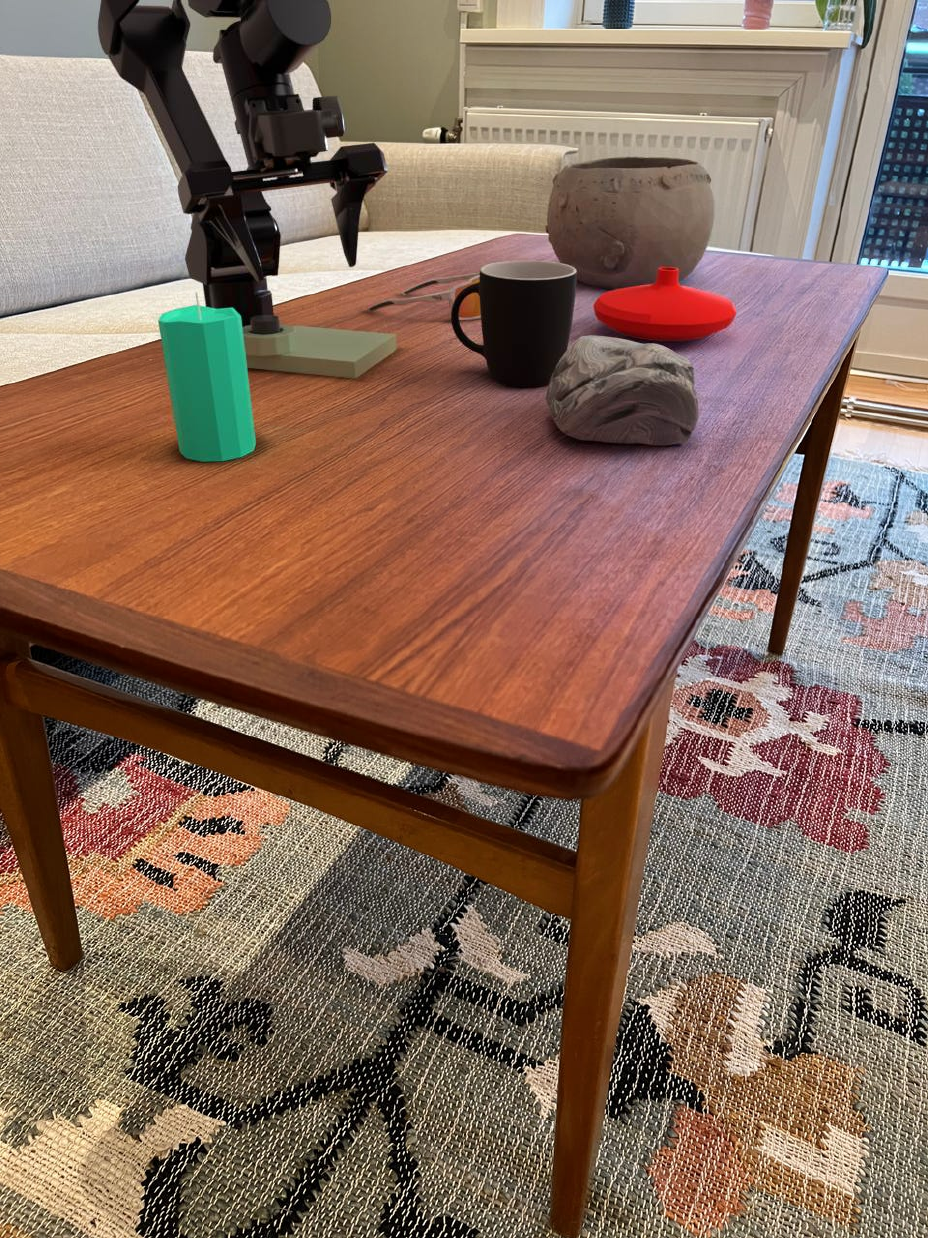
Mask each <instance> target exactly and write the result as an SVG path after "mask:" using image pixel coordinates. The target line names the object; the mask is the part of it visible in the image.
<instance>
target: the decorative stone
mask: <svg viewBox="0 0 928 1238" xmlns="http://www.w3.org/2000/svg"><path fill="white" fill-rule="evenodd" d="M694 369H695V368H694V366H693V364H692V362H691V361H689V359H687V358H686V357H684V356H682V355H680V354H678V353H676V352H675V351H673V350H672V349H670V348H668V347H666V346H664V345H661V344H659V343H640V342H638V341H637V342H636V341H633V340H629V339H624V338H618V337H612V336H606V335H605V336H604V335H591V334H589V335H582V336H580V337H579V338H577V339H576V340H575V341H574V342H573V343H572V344H571V345H570V346H568V348H567V351H566V352H565V353H564V355H563V356H562V357H561V359H560V360H559V362H558V364H557V366H556V368H555V370H554V372H553V374H552V377H551V380H550V383H549V384H548V385H547V392H546V395H545V401H546V404H547V406H548V410H549V413H550V416H551V419H552V420H553V421H554V423H555V425H556V426H557V428H558V429H559V431H561V432H562V433H563V434H565V435H566V436H569V437H572V438H573V439H576V440H579V441H588V442H589V441H593V442H600V443H605V444H606V443H607V444H608V443H610V444H630V445H634V444H643V445H648V446H670V445H677V444H679V445H683V444H685V443H687V442H689V439H690V438H691V435H692V433H693V432H694V431H695V430H696V426H697V424H698V421H699V411H700V410H699V403H698V398H697V394H696V390H695V371H694Z"/></svg>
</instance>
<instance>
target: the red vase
mask: <svg viewBox="0 0 928 1238" xmlns="http://www.w3.org/2000/svg"><path fill="white" fill-rule="evenodd" d="M678 273H679V269H678V268H674V267H660V268H658V274H657V280H656V283H654V284H649V285H640V286H634V287H628V288H621V289H620V288H615V289H613V290H608V291H605V292H604V293H602V294H600V295H599V297H598V298H596V300H595V301H594V303H593V305H592V306H593V307H592V308H593V312H594V315H595V318H596V319H597V320H598V321H599V322H601V323H602V324H604V325H605V326H607V327H609V328H610V329H612V330H614V331H615V332H617V333H619V334H621V335H624V336H627V337H632V338H635V339H641V340H647V341H656V342H657V341H658V342H682V341H693V340H700V339H702V338H703V339H704V338H706V337H708V336H711V335H713V334H715V333H718V332H720V331H722V330H725V329H728V327H730V326H731V325H732V324H733V322H734V320H735V318H736V316H737V308H736V307H735V305H734V303H733V301H731V300H730V299H729V298H728V297H725V296H723V295H721V294H717V293H713V292H710V291H707V290H704V289H703V290H702V289H698V288H695V287H691V286H686V285H681V284H680V283H679V282H678Z"/></svg>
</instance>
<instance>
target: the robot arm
mask: <svg viewBox="0 0 928 1238" xmlns="http://www.w3.org/2000/svg"><path fill="white" fill-rule="evenodd" d="M139 2H140V0H100V6H99V13H98V17H97V18H98V19H97V34H98V37H99V39H98V40H99V43H100V47H101V49H102V51H103V53H104V54H105V55H106V56H107V57H108V59H109V60H110V62H111V64H112V66H113V68H114V69H115V71H116V72H117V74H118V76H119V77H120V79H122V80H123V81H124V82H126V83H128V84H129V85H131V86H132V87H133V88H135V89H136V90H138V91H140V92H141V93H142V94H143V95H144V97H145V98H146V101H147V103H148V105H149V107H150V110H151V111H152V113H153V116H154V118H155V120H156V122H157V124H158V126H159V129H160V131H161V132H162V135H163V137H164V139H165V142H166V143H167V145H168V148H169V150H170V152H171V154H172V156H173V158H174V160H175V162H176V164H177V165H176V166H177V167H178V169H179V171H180V173H181V176H180V179H179V182H178V184H177V186H176V187H177V195H178V198H179V199H178V200H179V202H180V205H181V209H182V213H183V214H187V215H192V218H191V223H190V230H191V233H190V237H189V241H188V243H187V244H188V245H187V248H186V252H185V255H184V261H185V266H186V269H187V273H188V276H189V278H190V279H191V280H194V281H196V282H198V283H200V284H202V290H203V291H202V292H203V299H204V304H205V305H204V306H205V307H210V308H215V309H222V308H234V309H235V310H236V311H237V312H238V313H239V314H240V316H241V320H242V327H245V326H249V325H251V320H250V319H251V318H252V317H254V316H259V315H274V316H275V314H274V304H273V293H272V291H271V290H269V289H268V279H267V277H278V276H279V267H280V254H281V238H282V234H281V232H280V227H279V225H278V222H277V220H276V219H275V217H274V216H273V215H272V213H271V211H272V207H271V206H270V205H269V203H267V200H266V199H265V197H264V194H263V192H269V191H276V190H283V189H284V190H285V189H292V188H301V187H308V186H316V185H323V184H329V186H330V188H332V189H333V190H334V191H335V192H336V194H334V196H333V197H332V198H331V199H330V201H331V205H332V209H333V214H334V218H335V222H336V226H337V230H338V234H339V238H340V242H341V247H342V252H343V254H344V257H345V260H346V263H347V265H348V267H349V268H353V267H355V266H356V265H357V257H358V256H357V255H358V245H359V244H358V243H359V229H360V217H361V212H362V208H363V207H362V206H363V202H364V199H365V196H366V195H367V194H368V193H369V192H370V191H371V190H372V189H373V188H374V187H375V186H376V184H377V183H378V182H379V181H380V180H381V179H383V177H384V176H385V175H386V174H387V173H388V172H389V170H388V165H387V161H386V157H385V153H384V152H383V150H382V149H381V148H380V147H379V146H378V145H377V143H375V142H367V143H360V144H351V145H343V146H340V147H339V148H338V149H337V151H336V152H335V153H334V154H333V156H331V158H330V159H329V160H328V159H327V160H320V161H312V160H311V158H316V157H317V156H318V155H319V153H325V152H328V151H329V147H328V146H329V145H328V139H331V138H332V139H333V138H340V137H341V138H342V137H344V135H345V131H346V130H345V129H346V128H345V120H344V114H343V110H342V108H341V104H340V100H339V96H338V95H328V96H315V97H313V99H312V109H306V110H305V109H304V105H303V102H302V101H303V100H302V99H301V97H300V94H299V93H295V91H294V86H293V83H292V78H291V75H290V74H291V73H293V72H295V71H296V70H297V69H298V68H299V67H300V66H301V65H302V64H303V63H304V62H305V61H306V60H307V59H308V57H309V56H310V55H311V54H312V53H313V52H314V51H315V50H316V48H318V47H319V46H320V45H321V43H322V42H323V41H324V40H325V39H326V37H327V36H328V34H329V32H330V30H331V26H332V11H331V7H330V4H329V1H328V0H187V5H188V7H189V8H190V9H191V10H193V11H194V12H196V13H197V14H199V15H200V16H202V17H204V18H207V19H240V20H237V21H234V22H233V23H231V24H230V25H229V26H227V28H226V29H220V30H219V35H218V40H217V42H216V44H215V46H214V47H213V52H212V59H213V60H212V61H213V63H215V64H221V66H222V69H223V74H224V78H225V82H226V85H227V89H228V93H229V97H230V101H231V104H232V105H231V106H232V108H233V112H234V116H235V121H234V127H235V130H236V134H237V135H240V141H241V142H242V147H243V150H244V155H245V158H246V163H247V168H246V169H244V170H237V171H236V170H235V171H232V167H231V165H230V164H229V162H228V161H227V159H226V157H225V155H224V153H223V151H222V149H221V147H220V145H219V143H218V140H217V139H216V136H215V133H214V132H213V130H212V128H211V126H210V124H209V122H208V120H207V117H206V115H205V114H204V111H203V110H202V107H201V105H200V103H199V101H198V99H197V96H196V94H195V93H194V90H193V88H192V86H191V84H190V82H189V80H188V78H187V75H186V74H185V72H184V69H183V66H184V61H185V56H186V55H185V54H186V50H187V42H188V41H187V40H188V36H189V33H190V27H191V21H190V19H189V16H188V14H187V11H186V10H185V7H184V4H183V2H182V0H172V4H171V7H170V6H165V5H141V4H139Z"/></svg>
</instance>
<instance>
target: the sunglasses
mask: <svg viewBox="0 0 928 1238" xmlns="http://www.w3.org/2000/svg"><path fill="white" fill-rule="evenodd" d="M479 279H480V271H479V272H473V273H466V274H458V275H453V276H446V277H435V278H433V279H430V280H426V281H424V282H423V281H422V282H420V283H418V284H416V285H413V286H412V287H409V288H408V289H405V290H403V291H402V292H401V293H400V294H401V295H403V297H405V296H406V297H407V296H409V295H412V294H413V293H415V292H418V291H420V290H423V289H426V288H428V287H432V286H437V285H444V284H446V285H447V284H450V283H453V282H458V281H465V282H463V283H461V284H457V285H455V286H452V287H451V288H450V289H449V290H445V291H440V292H435V293H430V294H425V295H419V296H414V297H407V298H390V299H387V300H383V301H380V302H377V303H375V304H373V305H371V306H369V307H367V311H368V312H370V313H373V312H376V311H378V310H381V309H383V308H387V307H393V306H394V307H395V306H401V307H403V306H407V305H410V304H414V303H423V302H428V303H435V304H436V303H439V302H442V301H448V302H449V314H450V316H451V311H452V306H453V303H454V301H455V299H456V297H457V296H458V295H459V293H460V292H461V291H462V290H463V289H465V288H466V287H468V286H470V285H472V284H475V283H478V282H479ZM466 280H467V281H466ZM478 319H481V312H480V297H479V295H478V293H472V294H469V295H468V296H467V297H466V298H465V299H464V300H463V302H462V303H461V306H460V309H459V321H473V320H478Z"/></svg>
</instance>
